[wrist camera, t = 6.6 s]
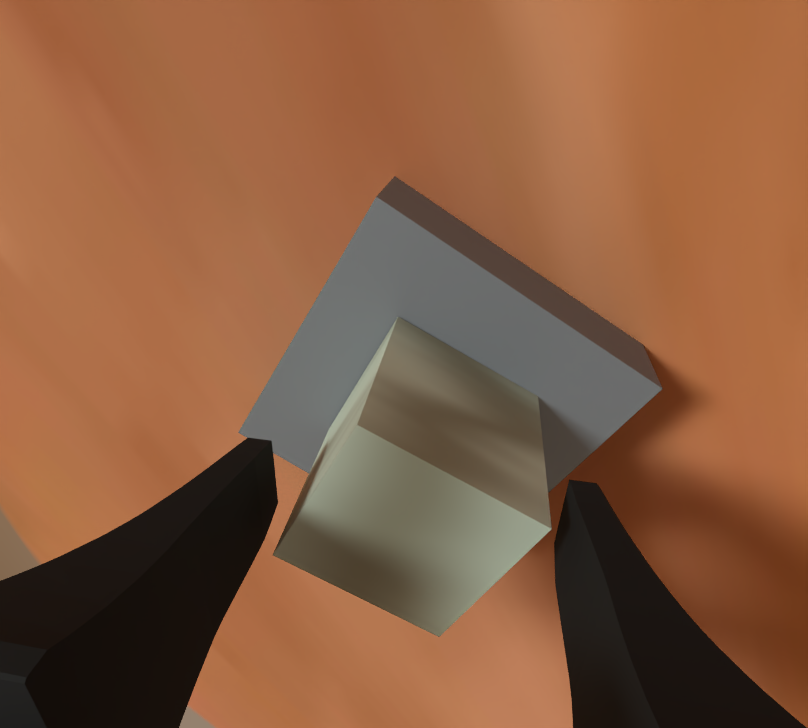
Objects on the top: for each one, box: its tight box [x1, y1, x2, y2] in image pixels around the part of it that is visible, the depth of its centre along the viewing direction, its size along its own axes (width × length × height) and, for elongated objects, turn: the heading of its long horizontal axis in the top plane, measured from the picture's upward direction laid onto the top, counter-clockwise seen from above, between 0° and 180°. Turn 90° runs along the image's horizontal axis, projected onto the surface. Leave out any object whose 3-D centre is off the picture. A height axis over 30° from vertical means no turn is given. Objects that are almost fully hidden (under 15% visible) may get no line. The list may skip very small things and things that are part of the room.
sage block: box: [273, 317, 552, 637], centre depth 14 cm, size 4×4×5 cm
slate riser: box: [238, 177, 663, 493], centre depth 18 cm, size 9×9×3 cm
